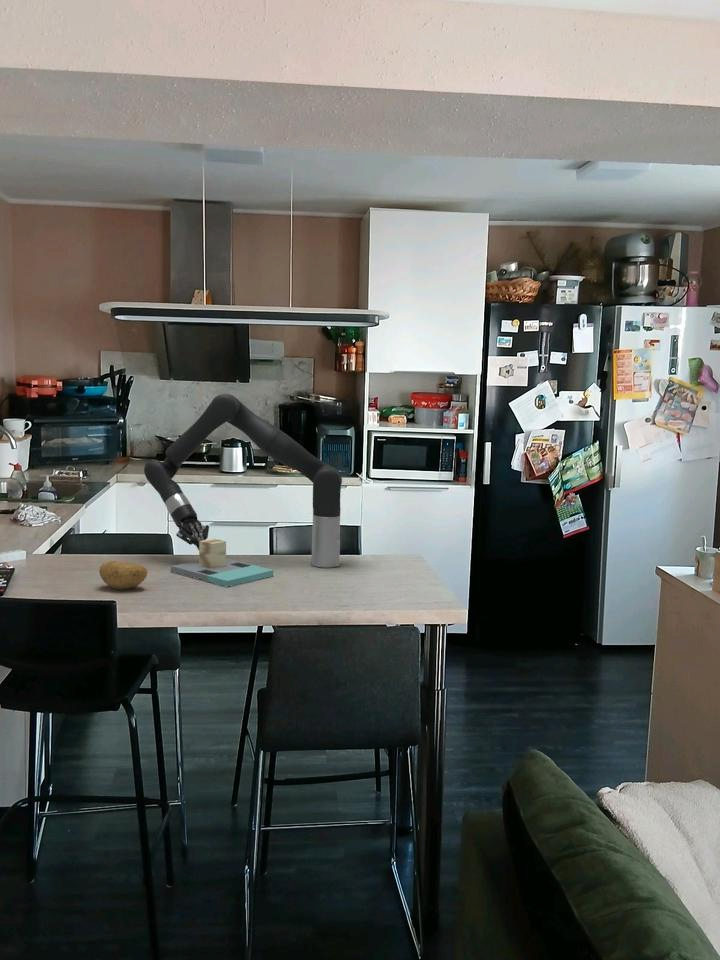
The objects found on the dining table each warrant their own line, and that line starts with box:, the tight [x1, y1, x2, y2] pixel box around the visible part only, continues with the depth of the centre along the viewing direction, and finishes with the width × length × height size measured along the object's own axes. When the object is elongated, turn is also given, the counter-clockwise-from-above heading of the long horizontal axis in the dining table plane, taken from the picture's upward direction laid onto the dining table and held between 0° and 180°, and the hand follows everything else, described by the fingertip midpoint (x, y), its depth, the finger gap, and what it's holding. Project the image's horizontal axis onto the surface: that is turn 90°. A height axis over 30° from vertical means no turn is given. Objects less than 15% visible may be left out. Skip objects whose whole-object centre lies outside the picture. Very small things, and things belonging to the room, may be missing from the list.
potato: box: [98, 560, 148, 590], centre depth 256 cm, size 10×14×8 cm
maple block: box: [198, 538, 227, 569], centre depth 279 cm, size 6×6×8 cm
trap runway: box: [170, 558, 275, 588], centre depth 277 cm, size 26×20×2 cm
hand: (205, 552), depth 282 cm, fingers closed
